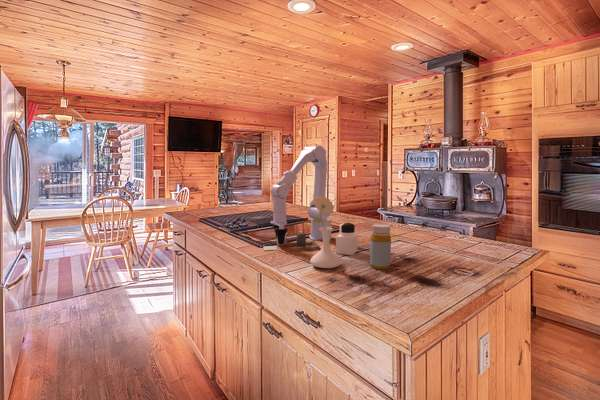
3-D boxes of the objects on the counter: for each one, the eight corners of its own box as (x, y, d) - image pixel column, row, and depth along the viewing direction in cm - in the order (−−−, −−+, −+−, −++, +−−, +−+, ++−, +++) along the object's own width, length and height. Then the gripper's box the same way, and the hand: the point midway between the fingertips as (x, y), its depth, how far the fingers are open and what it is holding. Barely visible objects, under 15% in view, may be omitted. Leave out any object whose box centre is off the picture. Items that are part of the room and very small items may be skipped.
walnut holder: (314, 243, 154) (314, 241, 153) (319, 249, 144) (319, 246, 144) (288, 244, 152) (288, 242, 151) (291, 250, 142) (291, 248, 142)
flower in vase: (348, 267, 120) (349, 197, 117) (322, 273, 114) (323, 199, 111) (326, 258, 131) (326, 193, 128) (301, 263, 125) (301, 195, 122)
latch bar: (284, 239, 160) (284, 229, 160) (287, 245, 150) (287, 234, 150) (275, 240, 160) (275, 229, 159) (277, 245, 150) (277, 234, 149)
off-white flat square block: (276, 246, 149) (276, 245, 149) (277, 250, 143) (277, 249, 143) (263, 247, 148) (263, 246, 148) (264, 250, 142) (264, 250, 142)
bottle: (367, 264, 124) (368, 223, 122) (386, 263, 125) (387, 223, 123) (373, 270, 117) (374, 227, 115) (392, 269, 118) (394, 227, 116)
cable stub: (305, 245, 150) (305, 232, 149) (306, 248, 146) (306, 234, 145) (296, 246, 149) (296, 232, 148) (297, 248, 145) (297, 234, 144)
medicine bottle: (357, 251, 141) (358, 222, 140) (352, 255, 135) (353, 225, 133) (341, 249, 144) (341, 221, 143) (335, 253, 138) (335, 224, 136)
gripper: (269, 209, 156) (269, 238, 157) (272, 214, 142) (272, 246, 143) (284, 209, 157) (284, 237, 159) (288, 214, 143) (289, 245, 144)
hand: (280, 241), depth 151 cm, fingers open, 7 cm apart
